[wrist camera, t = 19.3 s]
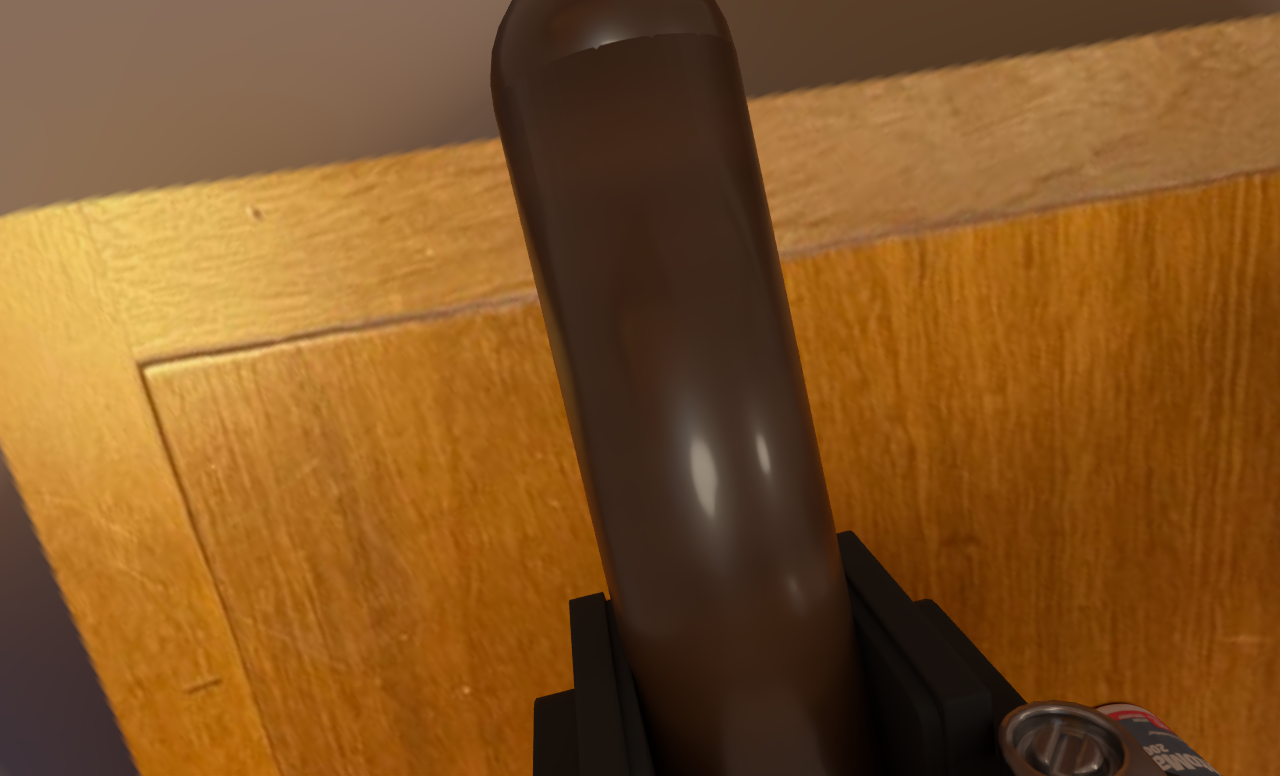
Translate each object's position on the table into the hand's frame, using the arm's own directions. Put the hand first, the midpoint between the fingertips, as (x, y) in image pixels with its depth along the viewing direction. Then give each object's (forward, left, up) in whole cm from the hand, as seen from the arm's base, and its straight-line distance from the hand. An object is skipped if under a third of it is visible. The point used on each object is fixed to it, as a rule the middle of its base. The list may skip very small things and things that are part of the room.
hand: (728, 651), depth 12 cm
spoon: (0, 0, 0) cm, 0 cm away
